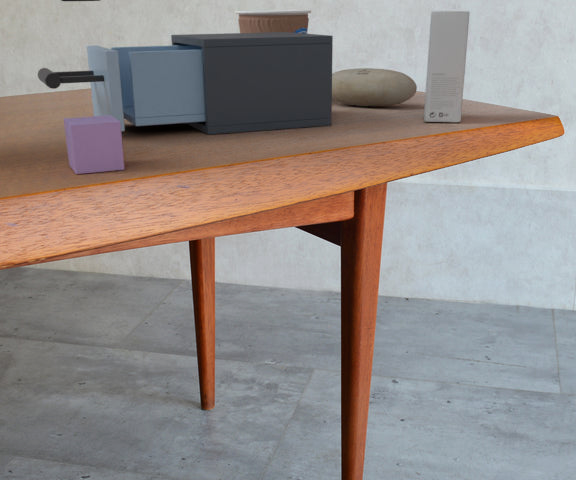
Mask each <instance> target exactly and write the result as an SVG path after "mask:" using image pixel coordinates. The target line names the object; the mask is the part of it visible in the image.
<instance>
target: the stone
mask: <svg viewBox="0 0 576 480" xmlns="http://www.w3.org/2000/svg"><path fill="white" fill-rule="evenodd" d="M417 86H418V85H417V83H416V82H415V80H414V79H413V78H412V77H411V76H409V75H407V74H406V73H404V72H401V71H397V70H393V69H385V68H373V67H362V68H361V67H360V68H349V69H348V68H347V69H342V70H341V69H340V70H338V71H335V72H332V100H334V101H336V102H337V103H341V104H344V105H348V106H353V105H357V106H356V107H368V106H371V107H387V106H388V107H389V106H394V105H401V104H403V103H405V102H407V101H408V100H410V99H412V98H413V97H414V96H415V95H416V93H417V89H418V87H417Z"/></svg>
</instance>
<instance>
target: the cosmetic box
mask: <svg viewBox="0 0 576 480" xmlns="http://www.w3.org/2000/svg"><path fill="white" fill-rule="evenodd" d="M469 25H470V11H468V10H431V11H430V24H429V36H428V39H429V40H428V52H427V65H426V67H427V68H426V80H425V81H426V82H425V94H424V104H423V106H424V107H423V122H426V123H461V120H462V109H463V98H464V85H465V74H466V73H465V72H466V71H465V70H466V61H467V51H468V50H467V49H468V37H469Z"/></svg>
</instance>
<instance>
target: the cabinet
mask: <svg viewBox="0 0 576 480" xmlns="http://www.w3.org/2000/svg"><path fill="white" fill-rule="evenodd" d="M170 37H171V38H170V39H171V46H172V45H193V46H199V47H202V58H203V79H204V100H205V122H191V123H185V124H186V125H187V126H190V127H192V128H194V129H196V130H198V131H200V132H202V133H203V134H206V135H208V136H211V135H222V134H224V135H225V134H235V133H248V132H249V133H250V132H261V131H274V130H286V129H298V128H299V129H301V128H313V127H314V128H315V127H325V126H332V116H333V115H332V114H333V112H332V111H333V108H332V107H333V101H332V100H333V99H332V74H333V40H334V37H333V35H330V34H329V35H327V34H315V33H307V34H305V33H292V32H268V33H240V32H236V33H235V32H234V33H233V32H232V33H231V32H229V33H197V34H196V33H195V34H194V33H192V34H171V35H170Z"/></svg>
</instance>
